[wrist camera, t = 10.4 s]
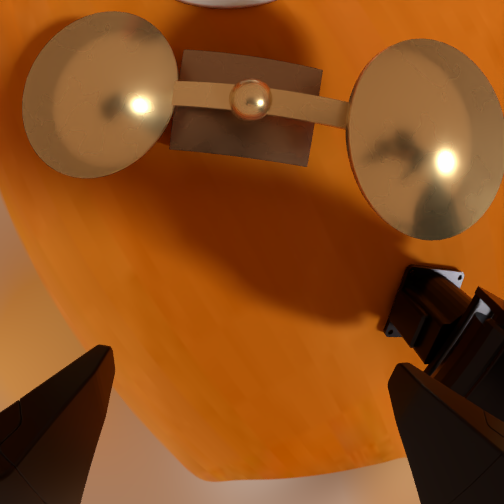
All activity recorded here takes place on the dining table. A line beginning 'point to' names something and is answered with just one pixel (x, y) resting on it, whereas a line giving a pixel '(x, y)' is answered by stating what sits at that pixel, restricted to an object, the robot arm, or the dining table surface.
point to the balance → (273, 116)
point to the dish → (226, 3)
